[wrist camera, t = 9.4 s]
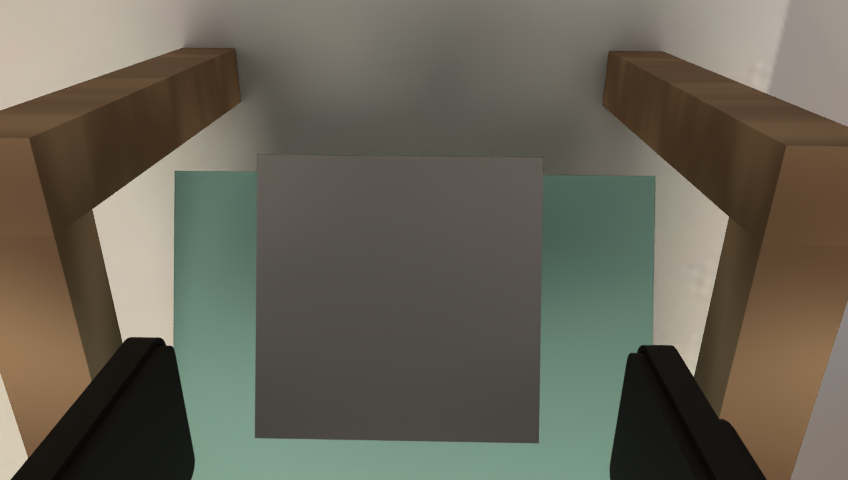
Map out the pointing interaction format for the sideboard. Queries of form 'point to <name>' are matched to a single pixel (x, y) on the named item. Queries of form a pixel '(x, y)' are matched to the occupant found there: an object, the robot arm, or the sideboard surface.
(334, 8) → the sideboard surface
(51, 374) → the frame
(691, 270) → the sideboard surface
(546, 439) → the trapdoor
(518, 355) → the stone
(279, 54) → the sideboard surface
